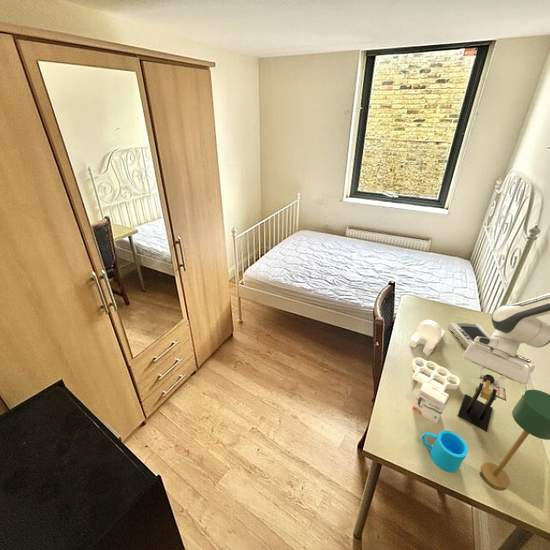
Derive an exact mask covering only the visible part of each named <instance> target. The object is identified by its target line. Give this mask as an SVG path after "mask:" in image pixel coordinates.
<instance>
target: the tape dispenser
mask: <svg viewBox="0 0 550 550" xmlns="http://www.w3.org/2000/svg"><path fill="white" fill-rule="evenodd" d="M445 332H446V331H445V330H444V329H442V327H441V325H440V324H439V323H438V322H436V321H434V320H431V319H426V320H423V321H422V322H421V323H420V324H419V325H417V329H416V331H415V333H414V334H413V335H412V336H411V337H410V339H409V342H408V345H409V346H410V347H412V348H413V349H415V348H416V347H417V346H418V345H419V344H420V345H423V349H422V353H423V354H426V355H431V354H432V353H433V351H434V350H435V348H436V347H437V346H438V345H439V343H440V342H441V340H442V339H443V337H444V334H445Z"/></svg>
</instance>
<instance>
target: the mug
mask: <svg viewBox="0 0 550 550" xmlns="http://www.w3.org/2000/svg"><path fill="white" fill-rule="evenodd" d="M426 437H431V438H435V439H434V442H433V445H431V444H430V443H428V442H427V440H426V439H425V438H426ZM420 438H421V442H422V443H423V445H424V446H425V447H426V448H427V449H428V450H430V452H429V453H430V454H429V455H430V458H431V460H432V462H433V463H434V465H436V466H437V467H438V468H439V469H441V470H442V471H444V472H447V473H455V472H457V471H458V470H459V469H460V467H461V465H462V463H463V462H464V460H465V459H466V457H467V455H468V453H469V447H468V444H467V443H466V441H465V439H463V438H462V437H461V435H459V434H457V433H456V432H453V431H452V430H451V431H450V430H441V431H439V433H438V434H437V433H433V432H428V431H427V432H423V433H422V434H421V436H420Z"/></svg>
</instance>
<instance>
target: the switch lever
mask: <svg viewBox="0 0 550 550" xmlns="http://www.w3.org/2000/svg"><path fill="white" fill-rule="evenodd" d="M483 380H484V382H485V383H486V384H485V388H483V390H482V391H481V393H480V395H479V397H480V398H482V399H484V400H486V401H487V400H488V398H489V396H490V393H491V391H490V390H489V386H490V384H493V383H494V381H495V380H496V379H495V377H494V376H493V375H491V374H488V373H487V374H484V377H483Z"/></svg>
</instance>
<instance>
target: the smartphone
mask: <svg viewBox="0 0 550 550" xmlns="http://www.w3.org/2000/svg"><path fill="white" fill-rule="evenodd" d="M481 380H482V379H481ZM481 383H482V384H483V387H482V390H483V388H485V384H486V383H485V382H484V380H482V381H481ZM493 389H495V390H497V392H496V397H497V398H499V399H501V400H503V401H506V400H507V394H506V388H503V387H501V386H499V385H498V387H496V386H494V385H492V384H490V386H489V390H490V391H491V392H492V391H493ZM490 394H491V393H490Z"/></svg>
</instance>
